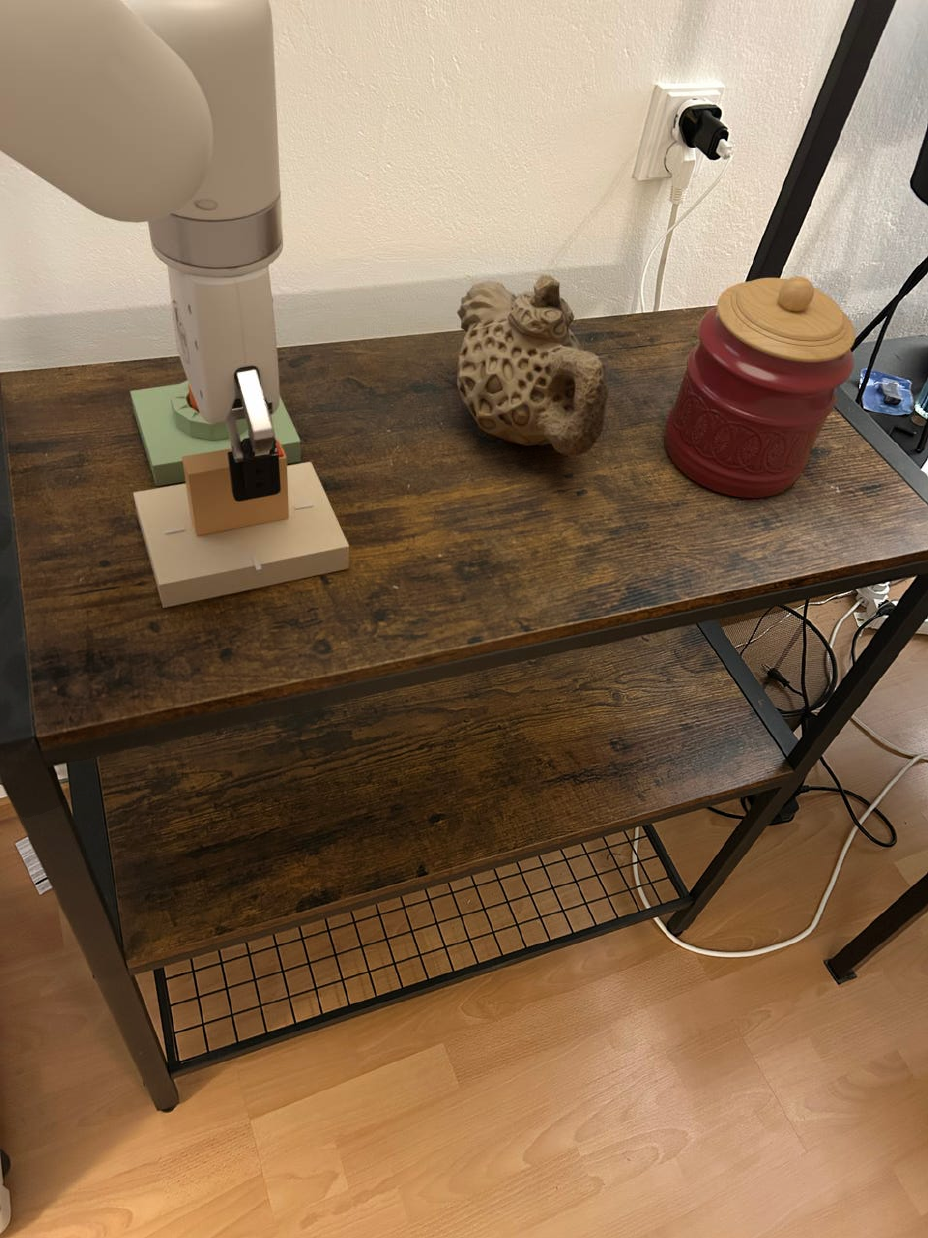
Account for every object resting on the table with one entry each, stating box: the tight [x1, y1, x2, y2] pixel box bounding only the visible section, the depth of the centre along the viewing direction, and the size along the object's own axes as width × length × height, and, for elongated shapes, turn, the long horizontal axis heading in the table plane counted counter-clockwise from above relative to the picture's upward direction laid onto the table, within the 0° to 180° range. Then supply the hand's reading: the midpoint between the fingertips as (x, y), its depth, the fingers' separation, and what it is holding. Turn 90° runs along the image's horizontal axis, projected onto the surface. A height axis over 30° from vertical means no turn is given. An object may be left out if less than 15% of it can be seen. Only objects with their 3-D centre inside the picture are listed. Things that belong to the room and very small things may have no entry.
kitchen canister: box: [664, 275, 856, 499], centre depth 83 cm, size 13×13×18 cm
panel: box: [132, 461, 350, 609], centre depth 74 cm, size 14×11×3 cm
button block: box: [129, 379, 302, 487], centre depth 81 cm, size 12×10×4 cm
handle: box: [182, 440, 289, 536], centre depth 71 cm, size 7×2×6 cm, turn 113°
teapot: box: [456, 274, 609, 456], centre depth 82 cm, size 21×12×15 cm, turn 27°
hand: (239, 449), depth 69 cm, fingers open, 9 cm apart
